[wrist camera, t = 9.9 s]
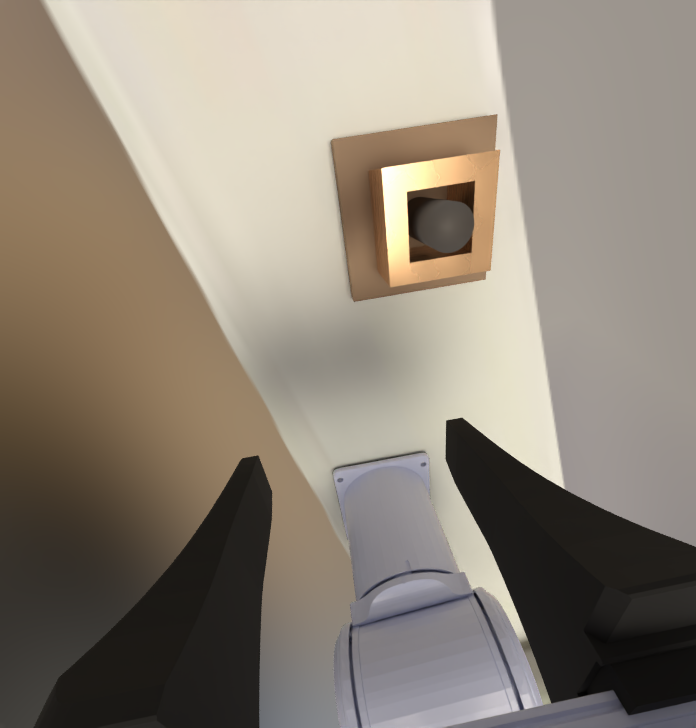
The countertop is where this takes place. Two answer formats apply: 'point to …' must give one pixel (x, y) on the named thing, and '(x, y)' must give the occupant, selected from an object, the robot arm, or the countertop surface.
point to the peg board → (425, 207)
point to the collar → (464, 184)
